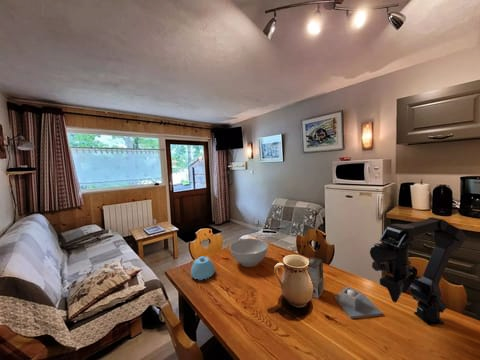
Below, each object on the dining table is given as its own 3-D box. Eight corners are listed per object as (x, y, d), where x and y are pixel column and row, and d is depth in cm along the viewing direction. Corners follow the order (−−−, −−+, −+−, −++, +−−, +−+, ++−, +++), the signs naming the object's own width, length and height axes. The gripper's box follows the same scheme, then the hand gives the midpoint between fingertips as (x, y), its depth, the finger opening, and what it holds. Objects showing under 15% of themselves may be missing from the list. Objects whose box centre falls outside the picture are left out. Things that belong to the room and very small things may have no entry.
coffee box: (311, 285, 107) (310, 256, 106) (324, 289, 102) (323, 259, 101) (305, 294, 100) (304, 263, 99) (318, 299, 95) (317, 267, 94)
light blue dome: (213, 280, 117) (211, 262, 117) (188, 282, 118) (186, 263, 117) (216, 267, 132) (215, 251, 132) (194, 269, 133) (193, 252, 132)
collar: (363, 303, 89) (363, 293, 89) (355, 310, 85) (355, 299, 85) (347, 295, 95) (347, 285, 95) (339, 302, 91) (339, 291, 91)
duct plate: (362, 295, 96) (362, 282, 96) (383, 315, 83) (382, 300, 83) (334, 298, 95) (334, 285, 95) (351, 318, 82) (350, 304, 82)
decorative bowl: (225, 259, 143) (223, 243, 142) (257, 251, 154) (256, 236, 153) (240, 277, 119) (239, 258, 118) (277, 265, 130) (276, 247, 129)
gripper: (384, 245, 87) (385, 279, 88) (364, 258, 77) (365, 296, 78) (417, 253, 78) (417, 291, 79) (398, 269, 68) (399, 312, 69)
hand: (399, 297), depth 76 cm, fingers open, 9 cm apart
